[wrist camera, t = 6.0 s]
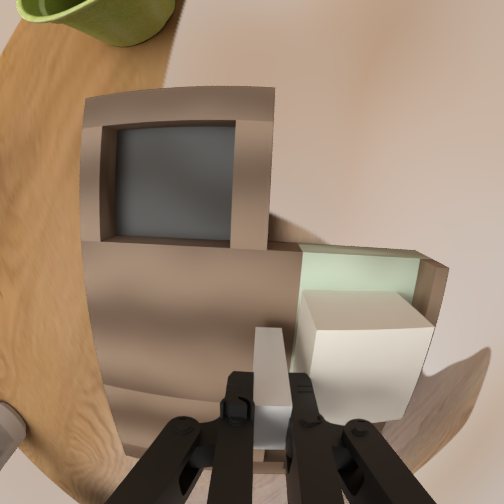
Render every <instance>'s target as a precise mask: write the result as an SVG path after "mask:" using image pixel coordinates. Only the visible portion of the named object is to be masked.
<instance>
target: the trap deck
mask: <svg viewBox="0 0 504 504" xmlns="http://www.w3.org/2000/svg"><path fill="white" fill-rule="evenodd" d="M274 100H275V88H273V87H251V86H196V87H175V88H160V89H149V90H139V91H131V92H123V93H115V94H109V95H102V96H96V97H90V98H86V99H85V107H84V116H83V126H82V139H81V155H80V231H81V247H82V260H83V271H84V280H85V288H86V296H87V303H88V310H89V316H90V322H91V328H92V334H93V339H94V344H95V349H96V354H97V359H98V363H99V367H100V372H101V376H102V380H103V384H104V388H105V391H106V395H107V399H108V402H109V406H110V409H111V413H112V416H113V419H114V422H115V425H116V429H117V432H118V435H119V438H120V440H121V443H122V446H123V449H124V452H125V454H126V455H127V456H132V457H136V458H141V457H142V456H143V454H144V453H145V452H146V451H147V449H148V448H149V447H150V445H151V444H152V443H153V441H154V440H155V439H156V438H157V436H158V435H159V434H160V432H161V431H162V430H163V428H164V427H165V426H166V424H167V423H168V422H169V421H170V420H171V419H173V418H175V417H178V416H188V417H192V418H194V419H196V420H197V421H198V422H199V423H204V422H210V421H213V420H215V419H217V418H218V417H220V402H221V400H222V399H223V398H225V393H226V386H227V380H228V376H229V375H230V374H231V373H232V372H233V371H243V372H253V361H254V345H255V328H256V327H270V328H282V334H283V341H284V348H285V355H286V362H287V369H288V372H291V373H292V368H293V361H294V353H295V345H296V337H297V329H298V320H299V311H300V302H301V292H302V290H335V291H391V292H397V293H398V294H399V295H400V296H402V297H403V298H404V299H405V300H406V301H407V302H408V303H409V304H410V305H412V306H413V307H414V308H415V309H416V310H417V311H418V312H419V313H420V314H421V315H423V316H424V317H425V318H426V319H427V320H428V321H429V322H430V323H431V324H432V325H433V326H434V327H436V323H437V319H438V316H439V312H440V308H441V304H442V300H443V296H444V291H445V286H446V282H447V277H448V272H449V268H448V267H446V266H444V265H443V264H441V263H439V262H437V261H435V260H433V259H431V258H429V257H427V256H425V255H423V254H421V253H419V252H417V251H415V250H402V249H387V248H371V247H355V246H339V245H338V246H337V245H323V244H305V243H288V242H269V241H267V238H268V221H269V203H270V185H271V166H272V144H273V123H274ZM434 330H435V328H434ZM433 334H434V331H433ZM432 337H433V335H432ZM431 340H432V338H431ZM430 343H431V342H430ZM429 346H430V345H429ZM428 350H429V348H428ZM427 353H428V351H427ZM426 356H427V354H426ZM425 359H426V357H425ZM424 362H425V360H424ZM423 365H424V363H423ZM422 368H423V366H422ZM421 371H422V369H421ZM420 373H421V372H420ZM419 376H420V375H419ZM418 379H419V378H418ZM417 381H418V380H417ZM416 384H417V383H416ZM415 387H416V386H415ZM414 389H415V388H414ZM413 392H414V391H413ZM412 394H413V393H412ZM411 397H412V396H411ZM410 399H411V398H410ZM409 402H410V401H409ZM408 404H409V403H408ZM406 409H407V408H406ZM405 411H406V410H405ZM403 416H404V415H403ZM385 422H386V421H384V422H377V423H372V424H373V425H374V426H375V427H376V428H377V430H378V431H379V432H380V433H381V431H382V429H383V427H384V424H385ZM285 455H286V444H285V450H267V449H253V473H254V474H286V469H283V465H284V460H285ZM204 470H212V467H207V468H204Z"/></svg>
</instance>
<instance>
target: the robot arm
mask: <svg viewBox="0 0 504 504" xmlns="http://www.w3.org/2000/svg"><path fill="white" fill-rule="evenodd" d="M285 444H286V455H285V460H284V465H283V469H286V483H287V498H288V504H344V499H343V495H342V491H343V493H344V494H345V496H346V498H347V500H348V501H349V503H350V504H436V503H435V501H434V500H433V499H432V498H431V496H430V495H429V494H428V493H427V491H426V490H425V489H424V488H423V486H422V485H421V484H420V483H419V481H418V480H417V479H416V478H415V477H414V475H413V474H412V473H411V471H410V470H409V469H408V468H407V466H406V465H405V464H404V463H403V461H402V460H401V459H400V458H399V456H398V455H397V454H396V452H395V451H394V450H393V449H392V447H391V446H390V445H389V444H388V442H387V441H386V440H385V439H384V437H383V436H382V435H381V433H380V432H379V431H378V430H377V428H376V427H375V426H374V425H373V424H372V423H371V422H370V421H367V420H365V419H352V420H350V421H348V422H347V423H346V424H345V426H344V425H338V424H333V423H330V422H328V421H326V420H325V419H324V417H323V416H322V415H321V414H320V413H319V410H318V406H317V402H316V398H315V393H314V389H313V385H312V381H311V378H310V377H309V376H308V375H307V374H306V373H291V372H288V369H287V362H286V355H285V348H284V341H283V334H282V328H270V327H256V328H255V345H254V361H253V372H243V371H233V372H232V373H231V374H230V375H229V376H228V380H227V386H226V393H225V398H223V399H222V400H221V402H220V417H218V418H217V419H215V420H213V421H210V422H204V423H199V422H198V421H197V420H196V419H194V418H192V417H188V416H178V417H175V418H173V419H171V420H170V421H169V422H168V423H167V424H166V426H165V427H164V428H163V430H162V431H161V432H160V434H159V435H158V436H157V438H156V439H155V440H154V441H153V443H152V444H151V445H150V447H149V448H148V449H147V451H146V452H145V453H144V454H143V456H142V457H141V458H140V460H139V461H138V462H137V463H136V465H135V466H134V467H133V469H132V470H131V471H130V472H129V474H128V475H127V476H126V477H125V479H124V480H123V481H122V482H121V484H120V485H119V486H118V487H117V489H116V490H115V491H114V492H113V494H112V495H111V496H110V497H109V499H108V500H107V501H106V502H105V504H185V502H186V500H187V499H188V497H189V495H190V493H191V491H192V490H193V488H194V486H195V484H196V482H197V481H198V479H199V477H200V475H201V473H202V471H203V470H204V468H207V467H212V474H211V480H210V487H209V493H208V500H207V504H252V483H253V449H267V450H285ZM341 489H342V490H341Z"/></svg>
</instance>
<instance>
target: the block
mask: <svg viewBox="0 0 504 504" xmlns="http://www.w3.org/2000/svg"><path fill="white" fill-rule="evenodd" d="M434 328H435V327H434V326H433V325H432V324H431V323H430V322H429V321H428V320H427V319H426V318H425V317H424V316H423V315H421V314H420V313H419V312H418V311H417V310H416V309H415V308H414V307H413V306H412V305H410V304H409V303H408V302H407V301H406V300H405V299H404V298H403V297H402V296H400V295H399V294H398V293H397V292H391V291H335V290H302V292H301V302H300V311H299V320H298V329H297V337H296V345H295V353H294V361H293V368H292V373H306V374H307V375H308V376H309V377H310V378H311V381H312V385H313V389H314V393H315V398H316V402H317V406H318V410H319V413H320V414H321V415H322V416H323V417H324V419H325V420H326V421H328V422H330V423H333V424H338V425H344V426H345V424H346V423H347V422H348V421H350V420H352V419H365V420H367V421H370V422H371V423H377V422H384V421H391V420H398V419H402V417H403V415H404V413H405V410H406V408H407V406H408V403H409V401H410V398H411V396H412V393H413V391H414V388H415V386H416V383H417V380H418V378H419V375H420V372H421V369H422V366H423V363H424V360H425V357H426V354H427V351H428V348H429V345H430V342H431V338H432V335H433V331H434Z"/></svg>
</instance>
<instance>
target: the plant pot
mask: <svg viewBox="0 0 504 504" xmlns="http://www.w3.org/2000/svg"><path fill="white" fill-rule="evenodd" d="M16 4H17V11H18V13H19V14H20V16H21V17H22V18H23V19H25V20H27V21H30V22H33V23H48V22H51V23H56V24H65V25H68V26H70V27H72V28H75V29H77V30H79V31H81V32H84V33H86V34H88V35H90V36H92V37H95V38H97V39H99V40H101V41H103V42H105V43H107V44H109V45H113V46H119V47H126V46H132V45H135V44H138V43H141V42H143V41H145V40H147V39H149V38H151V37H152V36H154V35H155V34H157V33H158V32H159V31H160V30H161V29H162V28H163V27H164V25H165V23H166V22H167V20H168V19H169V17H170V16H171V15H172V13H173V12H174V8H175V0H16Z"/></svg>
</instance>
